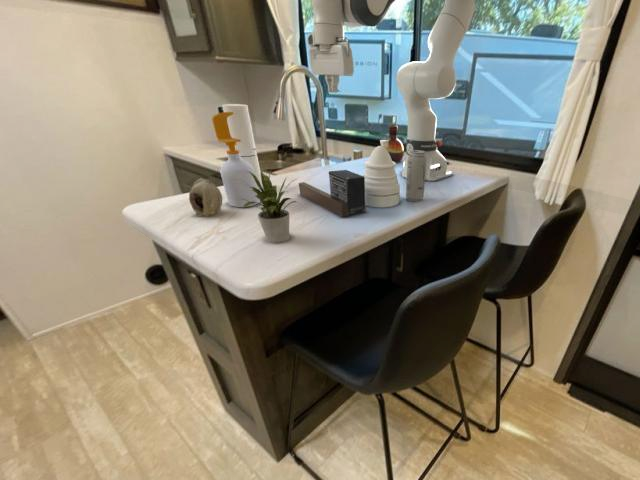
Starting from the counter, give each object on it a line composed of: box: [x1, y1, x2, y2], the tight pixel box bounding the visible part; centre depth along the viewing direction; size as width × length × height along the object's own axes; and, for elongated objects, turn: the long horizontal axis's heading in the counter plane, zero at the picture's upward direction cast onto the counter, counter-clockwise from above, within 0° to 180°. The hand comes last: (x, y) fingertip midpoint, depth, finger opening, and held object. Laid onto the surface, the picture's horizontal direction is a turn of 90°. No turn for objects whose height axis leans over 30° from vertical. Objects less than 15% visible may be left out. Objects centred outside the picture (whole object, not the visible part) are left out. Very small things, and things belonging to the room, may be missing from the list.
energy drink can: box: [405, 150, 427, 202], centre depth 106 cm, size 6×6×15 cm
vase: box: [385, 124, 405, 164], centre depth 155 cm, size 11×11×15 cm
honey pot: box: [362, 139, 401, 208], centre depth 102 cm, size 13×13×18 cm
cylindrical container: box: [221, 103, 264, 190], centre depth 107 cm, size 7×7×25 cm
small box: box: [328, 169, 366, 216], centre depth 96 cm, size 11×6×10 cm, turn 39°
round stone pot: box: [188, 177, 223, 217], centre depth 90 cm, size 9×8×10 cm
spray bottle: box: [211, 111, 261, 208], centre depth 93 cm, size 9×9×25 cm
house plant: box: [234, 169, 299, 244], centre depth 75 cm, size 14×14×16 cm
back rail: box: [298, 181, 349, 218], centre depth 100 cm, size 2×26×4 cm, turn 41°
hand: (333, 92), depth 106 cm, fingers closed
